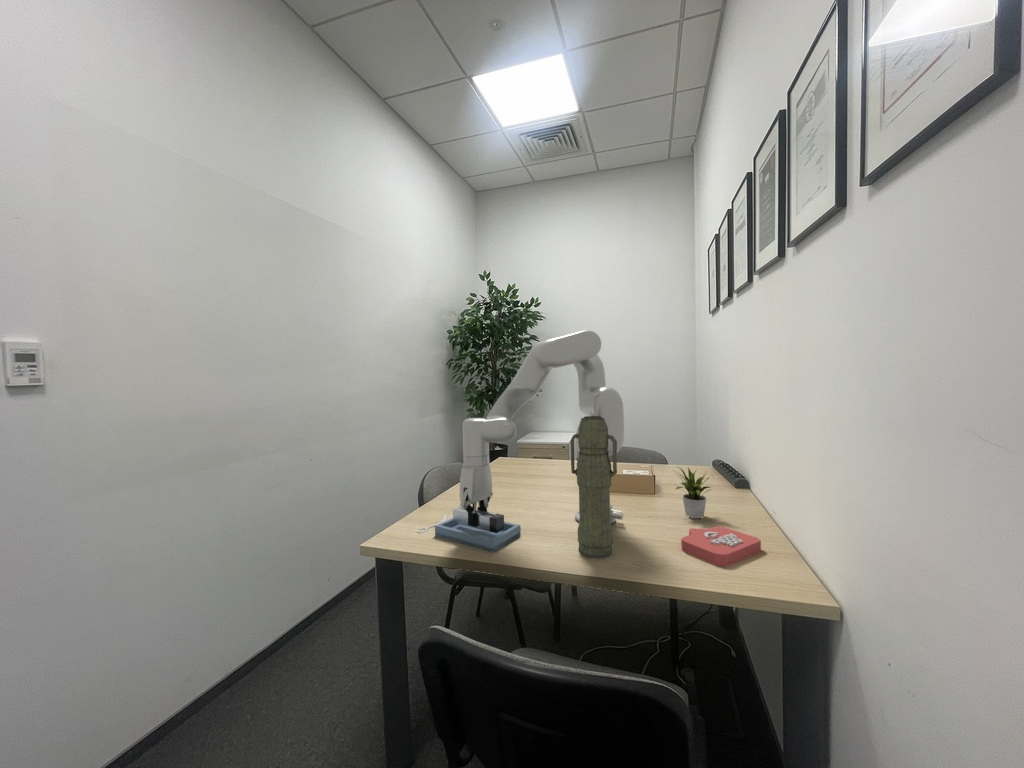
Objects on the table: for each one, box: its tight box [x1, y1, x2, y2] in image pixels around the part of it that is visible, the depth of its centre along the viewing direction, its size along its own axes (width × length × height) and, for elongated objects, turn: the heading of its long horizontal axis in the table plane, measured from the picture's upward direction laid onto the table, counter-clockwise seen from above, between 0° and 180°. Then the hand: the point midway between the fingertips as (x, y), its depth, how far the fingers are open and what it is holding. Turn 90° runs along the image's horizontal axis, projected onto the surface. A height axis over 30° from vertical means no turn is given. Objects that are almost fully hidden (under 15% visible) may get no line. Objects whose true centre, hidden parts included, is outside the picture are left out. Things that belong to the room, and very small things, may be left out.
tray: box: [434, 517, 522, 553], centre depth 114 cm, size 21×13×3 cm, turn 56°
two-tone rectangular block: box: [452, 505, 505, 533], centre depth 114 cm, size 16×4×4 cm, turn 56°
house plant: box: [673, 465, 717, 519], centre depth 127 cm, size 14×14×16 cm
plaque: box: [680, 525, 762, 567], centre depth 103 cm, size 18×4×15 cm
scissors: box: [416, 513, 453, 534], centre depth 125 cm, size 11×1×20 cm
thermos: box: [570, 415, 618, 559], centre depth 102 cm, size 9×12×35 cm
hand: (477, 523), depth 114 cm, fingers closed on two-tone rectangular block, 3 cm apart
